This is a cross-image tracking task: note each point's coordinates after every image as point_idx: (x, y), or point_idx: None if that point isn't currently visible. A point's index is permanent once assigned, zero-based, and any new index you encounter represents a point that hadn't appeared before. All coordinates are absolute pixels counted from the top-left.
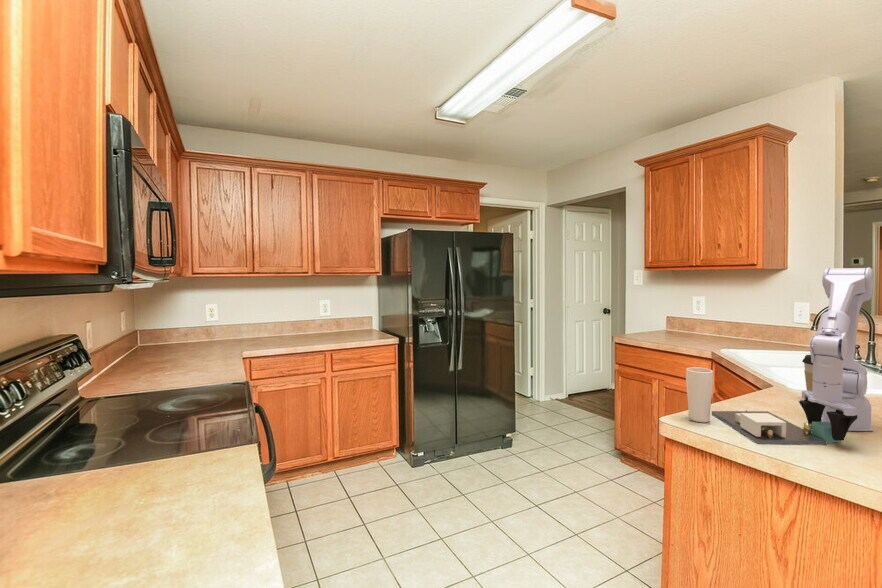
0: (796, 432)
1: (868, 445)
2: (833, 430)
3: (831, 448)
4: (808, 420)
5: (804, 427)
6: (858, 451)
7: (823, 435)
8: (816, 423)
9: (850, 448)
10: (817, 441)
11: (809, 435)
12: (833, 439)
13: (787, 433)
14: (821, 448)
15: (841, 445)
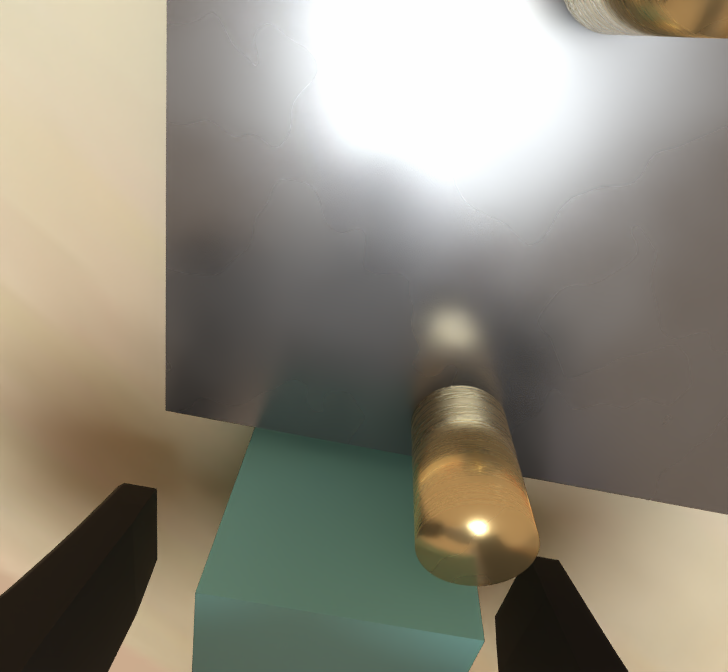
0: (524, 303)
1: (178, 651)
2: (31, 592)
3: (74, 338)
4: (594, 658)
5: (476, 448)
6: (24, 502)
7: (244, 477)
8: (388, 633)
9: (97, 502)
10: (170, 302)
11: (372, 376)
12: (150, 488)
13: (539, 96)
14: (58, 218)
15: (173, 495)
